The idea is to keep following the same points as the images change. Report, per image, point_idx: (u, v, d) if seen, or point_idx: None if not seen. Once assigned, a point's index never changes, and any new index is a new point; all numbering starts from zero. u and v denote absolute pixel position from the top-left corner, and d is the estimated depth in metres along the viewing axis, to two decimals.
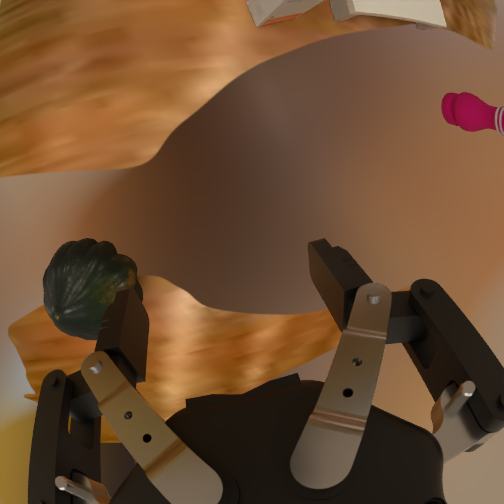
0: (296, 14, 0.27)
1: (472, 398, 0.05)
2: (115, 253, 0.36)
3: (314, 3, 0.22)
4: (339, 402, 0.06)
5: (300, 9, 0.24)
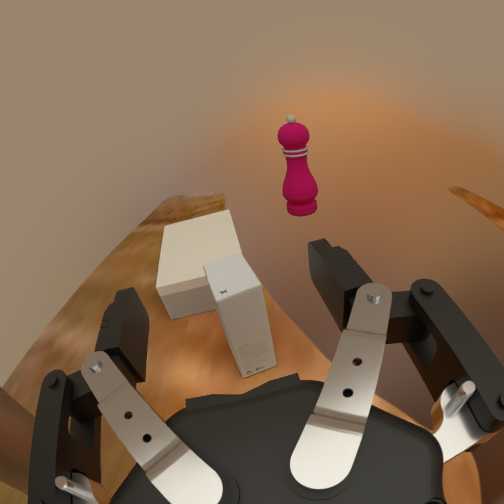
0: None
1: (472, 398, 0.05)
2: None
3: None
4: (339, 402, 0.06)
5: None
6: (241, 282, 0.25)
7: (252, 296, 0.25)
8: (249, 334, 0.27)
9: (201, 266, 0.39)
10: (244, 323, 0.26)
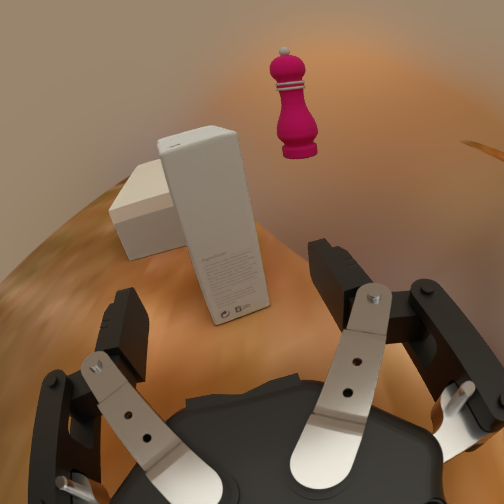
0: None
1: (472, 398, 0.05)
2: None
3: None
4: (339, 402, 0.06)
5: None
6: (205, 135, 0.15)
7: (220, 151, 0.14)
8: (220, 232, 0.16)
9: None
10: (209, 207, 0.15)
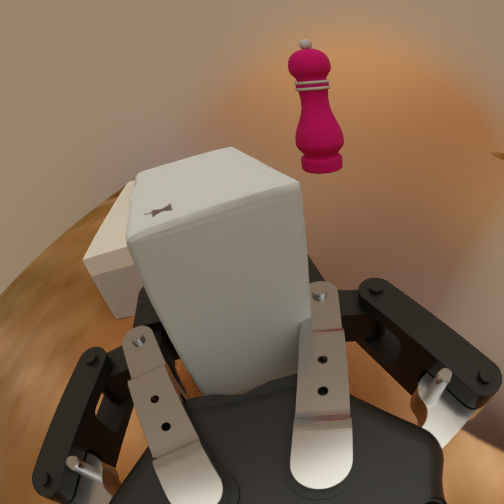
0: None
1: (450, 383, 0.06)
2: None
3: None
4: (317, 402, 0.06)
5: None
6: (228, 184, 0.07)
7: (265, 228, 0.07)
8: (255, 362, 0.09)
9: None
10: (236, 331, 0.08)
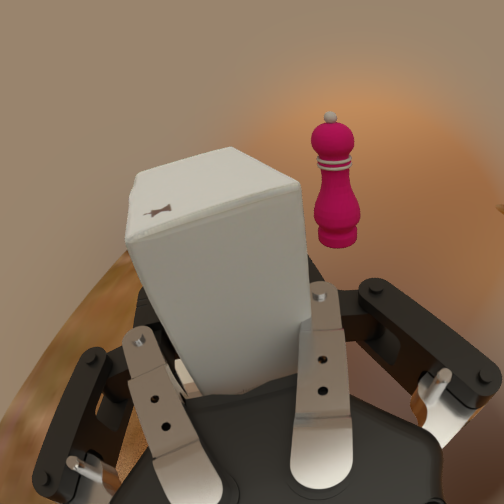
0: None
1: (450, 383, 0.06)
2: None
3: None
4: (317, 402, 0.06)
5: None
6: (228, 183, 0.07)
7: (264, 228, 0.07)
8: (255, 363, 0.09)
9: None
10: (236, 332, 0.08)
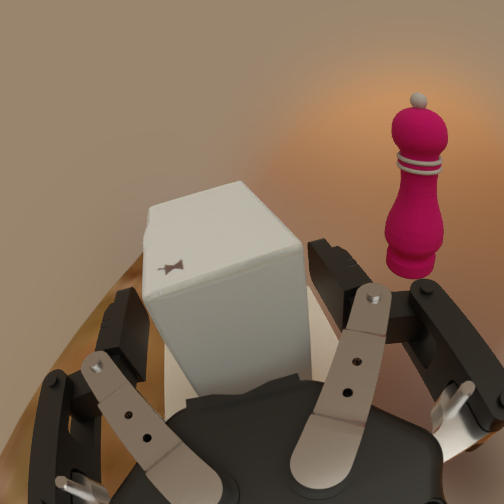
0: None
1: (471, 398, 0.05)
2: None
3: None
4: (339, 402, 0.06)
5: None
6: (236, 240, 0.08)
7: (268, 285, 0.07)
8: None
9: None
10: (242, 366, 0.08)
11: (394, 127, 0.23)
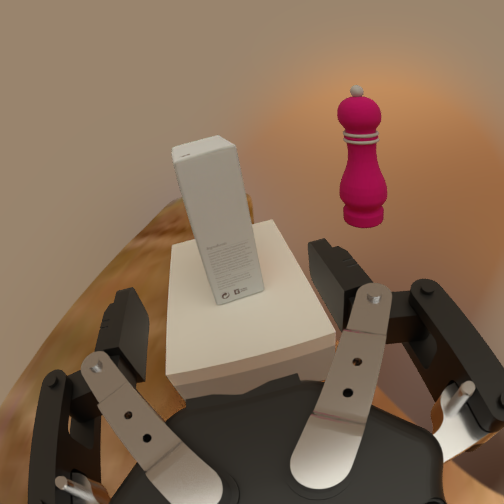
0: None
1: (472, 398, 0.05)
2: None
3: None
4: (339, 402, 0.06)
5: None
6: (210, 147, 0.18)
7: (222, 161, 0.18)
8: (222, 226, 0.20)
9: (249, 331, 0.21)
10: (213, 205, 0.19)
11: (338, 111, 0.34)
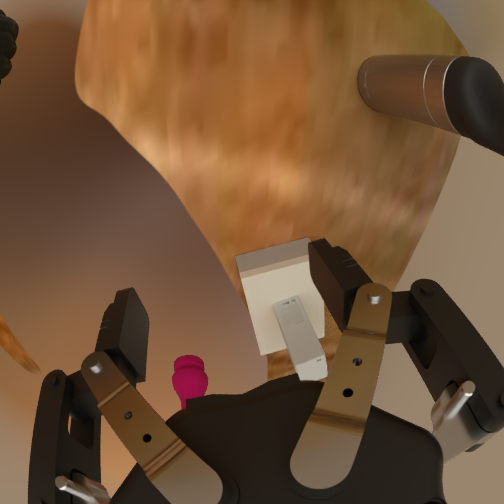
0: None
1: (472, 398, 0.05)
2: None
3: None
4: (339, 402, 0.06)
5: None
6: (306, 366, 0.35)
7: (300, 357, 0.35)
8: (298, 330, 0.39)
9: (282, 280, 0.42)
10: (303, 338, 0.37)
11: None
